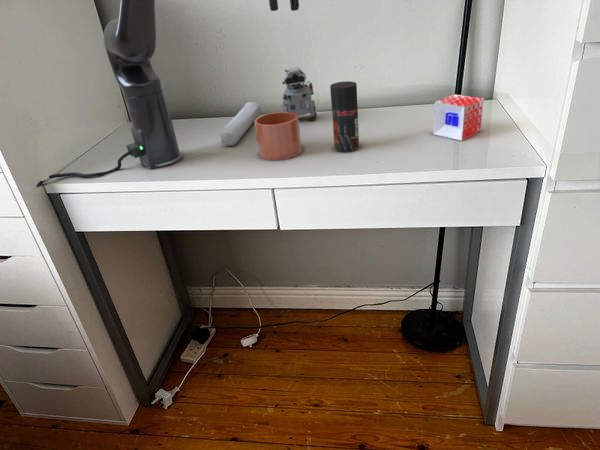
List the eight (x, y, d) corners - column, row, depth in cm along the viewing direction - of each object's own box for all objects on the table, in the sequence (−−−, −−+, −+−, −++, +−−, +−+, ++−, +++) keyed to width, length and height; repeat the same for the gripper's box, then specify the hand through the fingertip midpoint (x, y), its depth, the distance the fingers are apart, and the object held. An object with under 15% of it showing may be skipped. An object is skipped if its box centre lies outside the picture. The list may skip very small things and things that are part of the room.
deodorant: (358, 152, 105) (355, 87, 97) (332, 152, 106) (328, 88, 99) (360, 143, 110) (357, 80, 102) (336, 143, 111) (332, 82, 104)
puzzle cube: (480, 130, 108) (483, 98, 104) (461, 140, 104) (464, 106, 100) (451, 125, 114) (453, 94, 110) (432, 134, 110) (434, 102, 106)
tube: (237, 133, 114) (262, 104, 135) (218, 127, 114) (245, 99, 135) (235, 151, 117) (259, 120, 138) (215, 146, 117) (242, 116, 138)
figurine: (279, 128, 126) (272, 74, 119) (289, 116, 136) (283, 65, 128) (310, 127, 124) (305, 72, 116) (318, 115, 134) (314, 63, 126)
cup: (277, 163, 104) (273, 128, 100) (251, 154, 111) (245, 121, 107) (310, 149, 109) (307, 115, 105) (282, 141, 117) (278, 109, 112)
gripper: (248, -56, 117) (257, 12, 125) (284, -62, 108) (291, 12, 116) (270, -57, 121) (278, 9, 129) (306, -64, 112) (312, 8, 120)
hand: (284, 10), depth 122 cm, fingers open, 8 cm apart
